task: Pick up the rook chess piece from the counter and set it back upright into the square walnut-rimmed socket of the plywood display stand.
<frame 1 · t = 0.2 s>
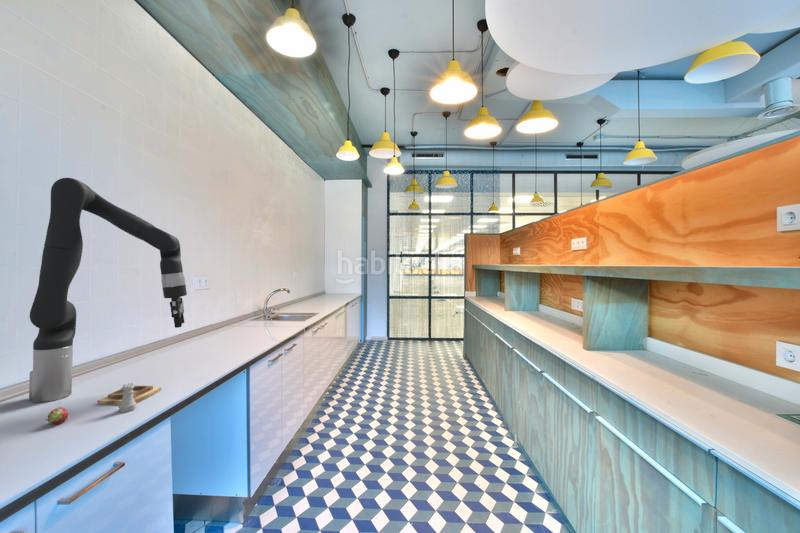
hand: (179, 325, 127), 22 cm above the counter, tool pointing down, fingers open, 8 cm apart
fruit: (58, 423, 92), on the counter
display stand: (131, 397, 111), on the counter
rook chess piece: (127, 410, 101), on the counter
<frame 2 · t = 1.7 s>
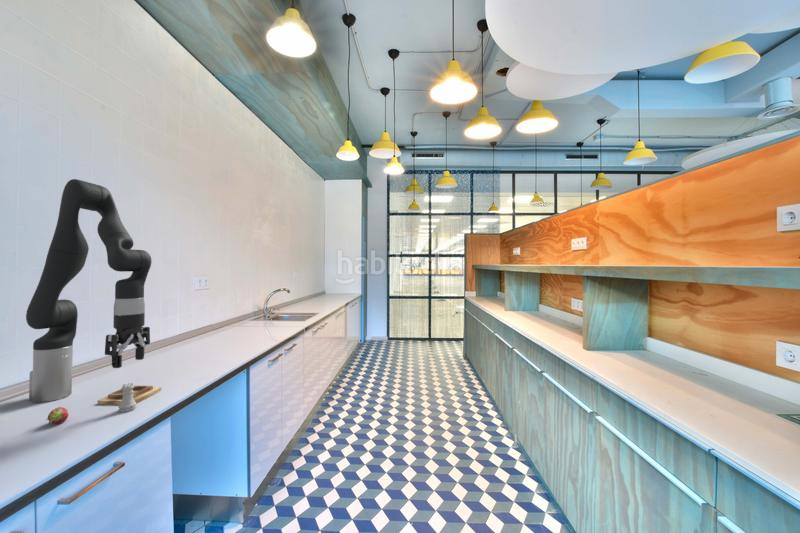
hand: (128, 363, 101), 15 cm above the counter, tool pointing down, fingers open, 8 cm apart
nothing on the counter moved.
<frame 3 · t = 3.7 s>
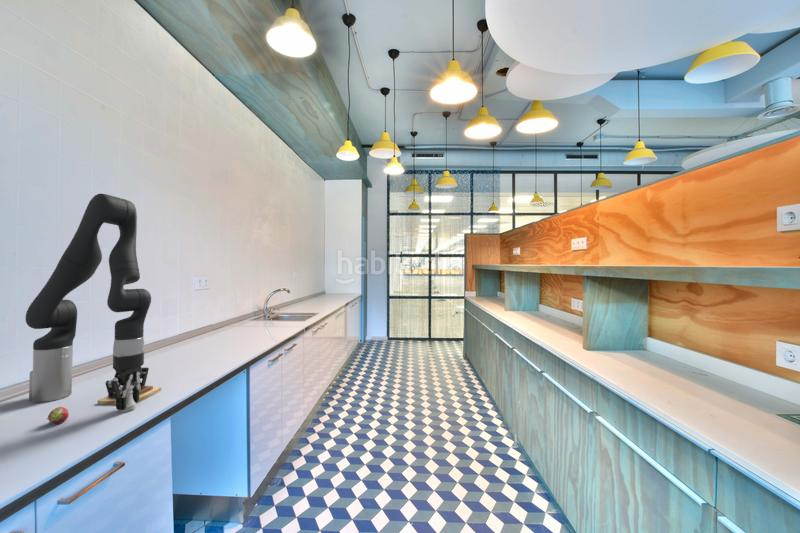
hand: (127, 405, 101), 1 cm above the counter, tool pointing down, fingers closed on rook chess piece, 4 cm apart
rook chess piece: (127, 410, 101), on the counter, touching gripper
everything else where it was.
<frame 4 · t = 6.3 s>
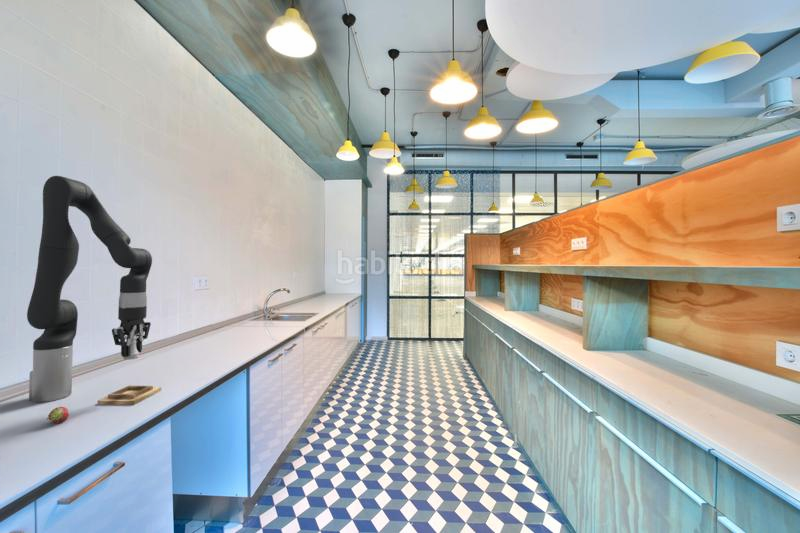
hand: (131, 354, 111), 15 cm above the counter, tool pointing down, fingers closed on rook chess piece, 4 cm apart
rook chess piece: (131, 358, 111), point 13 cm above the counter, touching gripper
everything else where it was.
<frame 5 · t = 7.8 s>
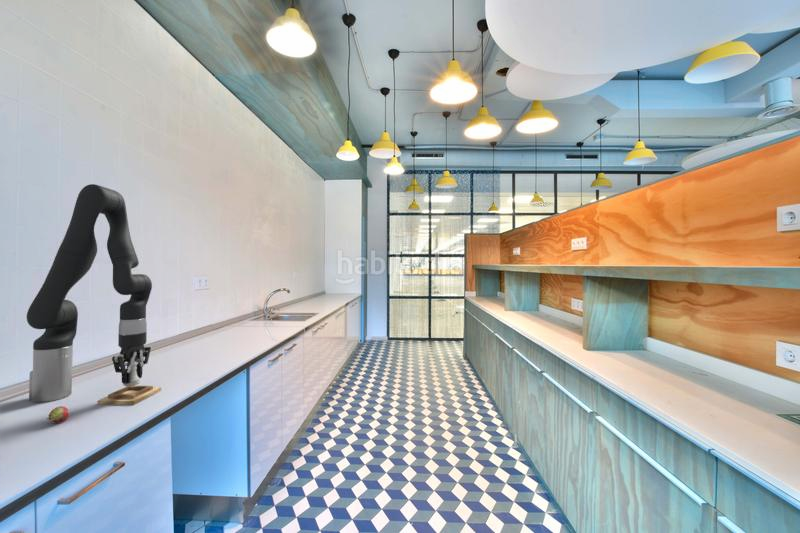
hand: (132, 380, 111), 6 cm above the counter, tool pointing down, fingers closed on rook chess piece, 4 cm apart
rook chess piece: (131, 384, 111), point 4 cm above the counter, touching gripper
everything else where it was.
when the fingers open (4 cm above the counter, at t = 9.0 s): rook chess piece drops 1 cm, resting on display stand.
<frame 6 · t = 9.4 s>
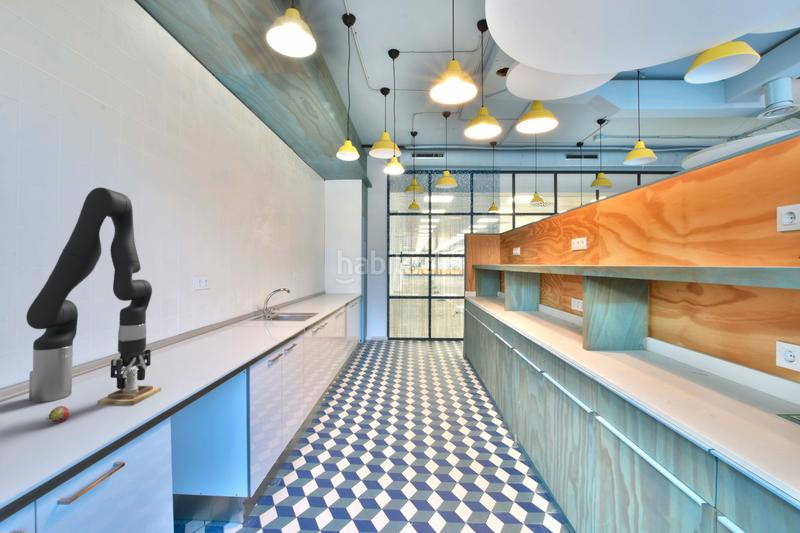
hand: (131, 384, 111), 4 cm above the counter, tool pointing down, fingers open, 7 cm apart
rook chess piece: (130, 394, 111), point 1 cm above the counter, touching display stand
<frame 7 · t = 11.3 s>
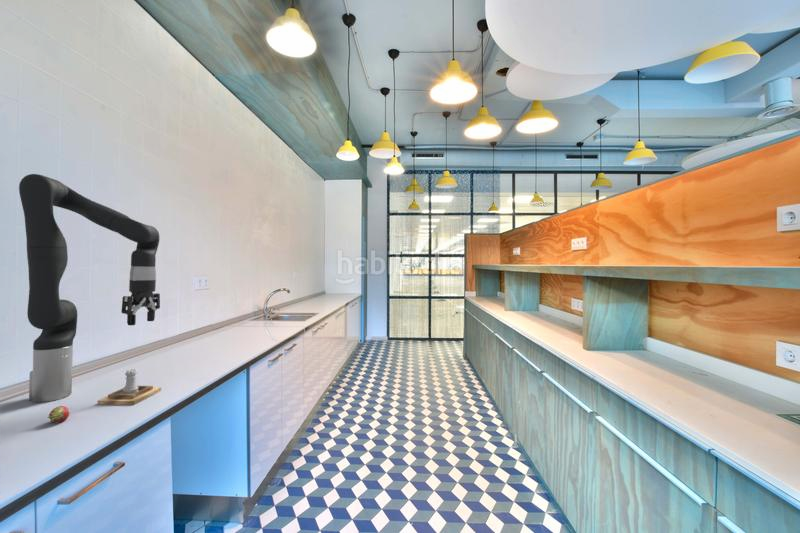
hand: (141, 323, 117), 25 cm above the counter, tool pointing down, fingers open, 8 cm apart
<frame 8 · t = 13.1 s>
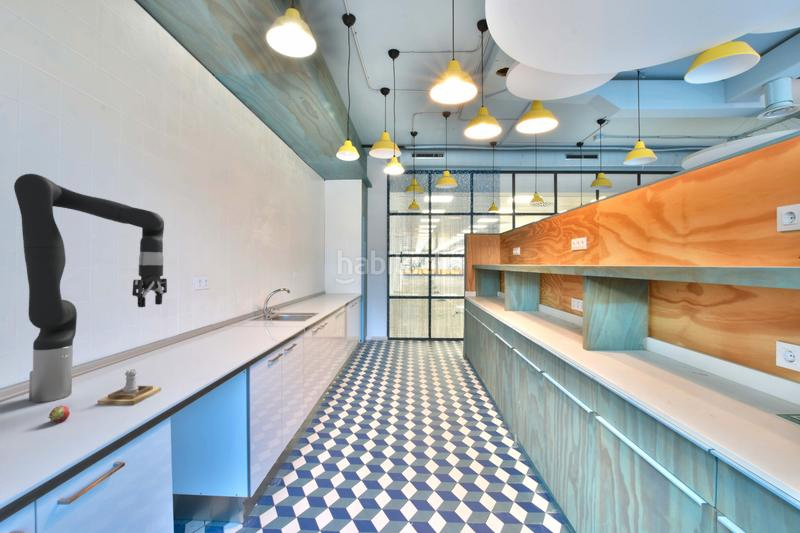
hand: (150, 305, 124), 30 cm above the counter, tool pointing down, fingers open, 8 cm apart
at the end: rook chess piece 0.3 cm off-centre on the display stand, point 1.0 cm above the display stand's base; rook chess piece tilted 0°; the gripper is holding nothing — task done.
